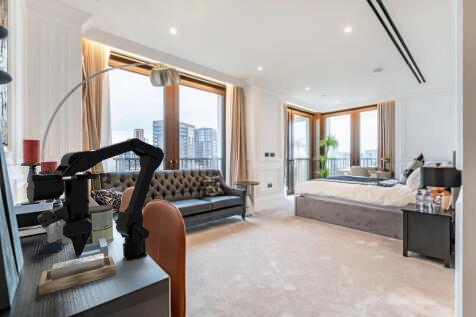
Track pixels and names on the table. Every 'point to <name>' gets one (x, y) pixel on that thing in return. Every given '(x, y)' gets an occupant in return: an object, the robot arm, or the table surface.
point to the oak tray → (75, 277)
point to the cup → (60, 234)
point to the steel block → (77, 266)
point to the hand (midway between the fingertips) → (78, 250)
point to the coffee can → (101, 223)
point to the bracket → (95, 248)
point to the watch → (52, 239)
